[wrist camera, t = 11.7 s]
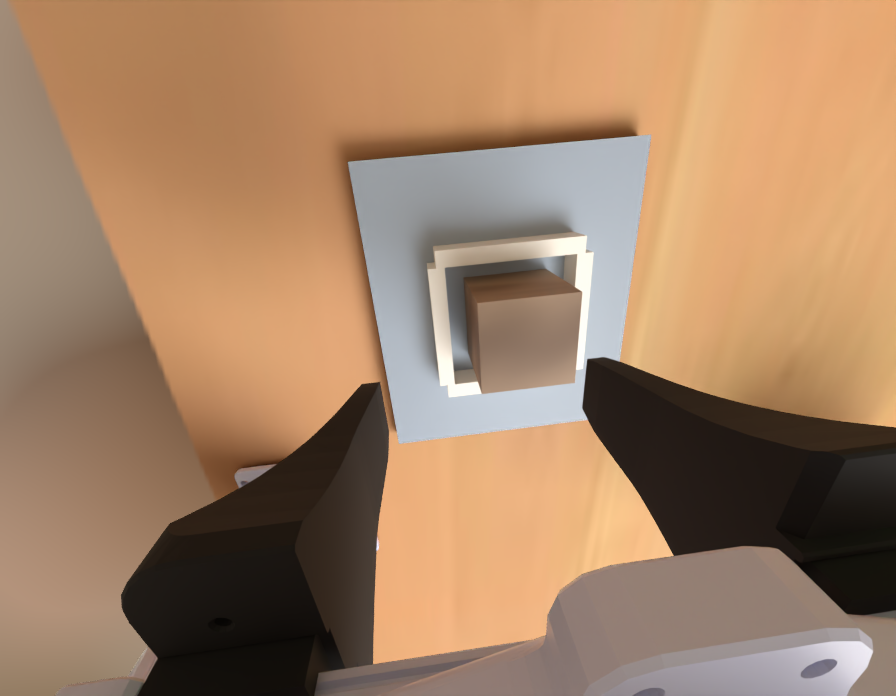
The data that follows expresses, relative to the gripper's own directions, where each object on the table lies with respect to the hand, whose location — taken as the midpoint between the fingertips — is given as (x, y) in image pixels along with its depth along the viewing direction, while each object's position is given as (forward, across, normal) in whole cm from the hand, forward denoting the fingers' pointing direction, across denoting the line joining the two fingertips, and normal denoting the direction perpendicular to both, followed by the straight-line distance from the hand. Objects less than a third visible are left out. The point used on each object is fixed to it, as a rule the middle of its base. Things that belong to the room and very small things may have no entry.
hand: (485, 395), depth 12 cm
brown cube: (+8, -3, 0) cm, 8 cm away
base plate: (+9, -3, 0) cm, 9 cm away
